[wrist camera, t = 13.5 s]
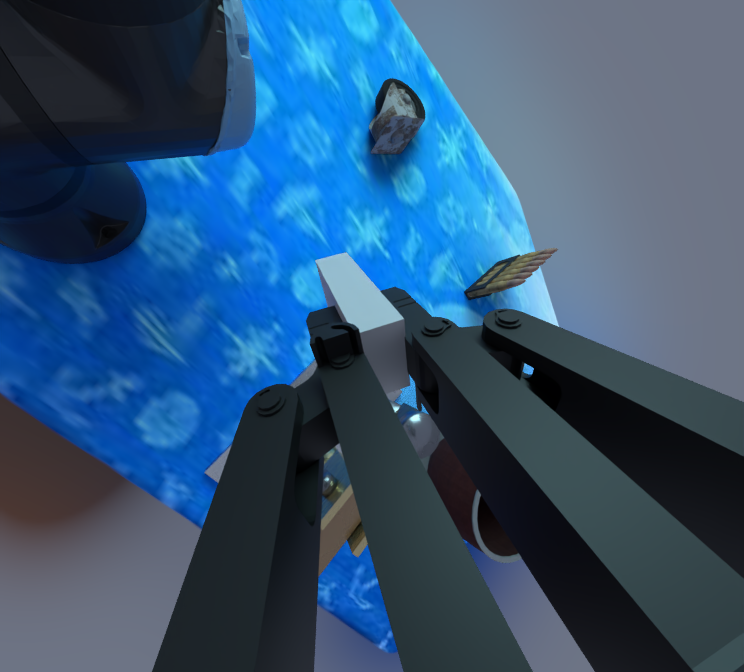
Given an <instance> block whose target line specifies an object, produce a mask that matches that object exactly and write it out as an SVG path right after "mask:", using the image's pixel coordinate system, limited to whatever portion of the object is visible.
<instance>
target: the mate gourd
mask: <svg viewBox="0 0 744 672" xmlns="http://www.w3.org/2000/svg"><path fill="white" fill-rule="evenodd" d="M420 460H421V462H422V463H423V465H424V467H425V469H426V471H427V473H428V475H429V477H430V479H431V480H432V482H433V484H434V486H435V488H436V490H437V492H438V494H439V496H440V497H441V499H442V501H443V503H444V505H445V507H446V509H447V511H448V513H449V514H450V516H451V518H452V520H453V522H454V524H455V526H456V528H457V530H458V531H459V533H460V535H461V537H462V538H463V539H464V540H466V541H467V542H469V543H470V544H471V545H473V546H474V547H475V548H477V549H479V550H480V551H482V552H483V553H485V554H486V555H487V556H488V557H490V558H491V559H493V560H494V561H498V562H502V563H511V562H514V561H517V560H520V559H522V558H521V556H520V555H519V553H518V551H517V550H516V548H515V547H514V545H513V544H512V542H511V541H510V539H509V537H508V536H507V534H506V533H505V531H504V530H503V528H502V527H501V525H500V524H499V522H498V520H497V519H496V517H495V516H494V514H493V513H492V511H491V510H490V508H489V506H488V505H487V503H486V502H485V500H484V499H483V497H482V496H481V494H480V492H479V491H478V489H477V488H476V486H475V485H474V483H473V482H472V480H471V479H470V477H469V475H468V474H467V472H466V471H465V469H464V468H463V466H462V465H461V463H460V461H459V460H458V458H457V457H456V455H455V454H454V452H453V451H452V449H451V447H450V446H449V444H448V443H447V441H446V440H445V438H444V437H443V435H442V434H441V432H440V441H439V444H438V446H437V448H436V449H435V451H434V452H433V453H432V454H431V455H429V456H427V457H425V458H422V459H420Z"/></svg>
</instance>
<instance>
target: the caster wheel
mask: <svg viewBox="0 0 744 672" xmlns="http://www.w3.org/2000/svg"><path fill="white" fill-rule="evenodd" d="M375 102H376V109H377V112H378V115H377V116H376V117H375V118H374V119H373V120H372V122H371V123H370V125H369V129H370V131H371V134H372V136H373V138H374V140H375V142H376V144H375V146H374V148H373V149H372V151H371V154H400V153H402V151H403V150H404V148H405V147H406V146H407V144H408V143H409V141H410V140H411V139H412V138H413V137H414V136H415V135H416V133H417V132H418V130H419V128H420V126H421V125H422V123H423V122H424V120H425V110H424V107H423V104H422V102H421V100H420V99H419V97H418V96H417V94H416V93H415V92H414V91H413V90H412V89H411V88H410V87H409V86H408V85H406V84H405V83H403V82H402V81H400V80H397V79H393V78H392V79H387V80H385V81H384V83H383V85H382V87H381V89H380V91H379V93H378V95H377V97H376V100H375Z"/></svg>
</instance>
